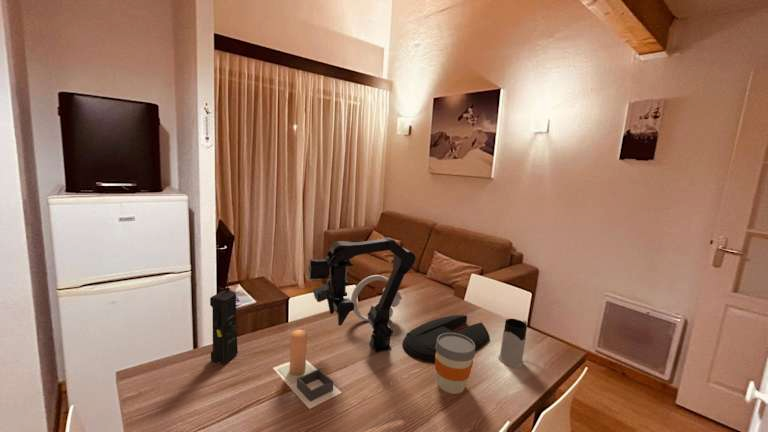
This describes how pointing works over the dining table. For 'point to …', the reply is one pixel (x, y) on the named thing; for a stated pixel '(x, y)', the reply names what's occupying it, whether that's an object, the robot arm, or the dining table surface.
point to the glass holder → (513, 343)
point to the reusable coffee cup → (453, 361)
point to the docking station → (425, 335)
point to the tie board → (308, 384)
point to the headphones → (394, 304)
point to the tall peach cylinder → (298, 352)
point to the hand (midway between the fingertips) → (335, 319)
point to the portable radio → (224, 326)
